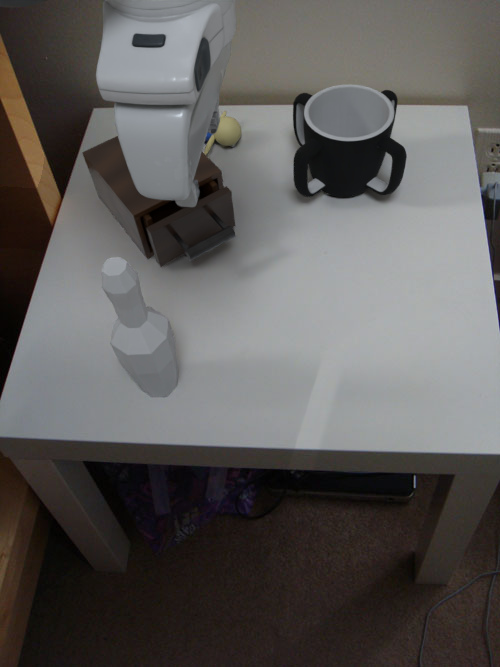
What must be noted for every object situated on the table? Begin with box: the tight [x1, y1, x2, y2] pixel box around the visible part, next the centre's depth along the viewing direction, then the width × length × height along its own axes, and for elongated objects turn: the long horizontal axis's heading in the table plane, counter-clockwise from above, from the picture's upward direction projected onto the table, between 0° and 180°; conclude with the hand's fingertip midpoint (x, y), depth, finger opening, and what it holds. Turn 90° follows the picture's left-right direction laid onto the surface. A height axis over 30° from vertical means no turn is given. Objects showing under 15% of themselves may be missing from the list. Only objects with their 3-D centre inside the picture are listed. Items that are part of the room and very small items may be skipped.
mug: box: [292, 83, 408, 198], centre depth 86 cm, size 16×16×12 cm
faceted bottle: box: [101, 256, 179, 398], centre depth 64 cm, size 6×6×22 cm
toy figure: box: [203, 110, 242, 156], centre depth 96 cm, size 11×9×5 cm
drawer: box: [140, 180, 237, 268], centre depth 83 cm, size 19×12×7 cm, turn 34°
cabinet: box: [81, 135, 225, 260], centre depth 86 cm, size 16×14×9 cm
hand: (199, 163), depth 53 cm, fingers open, 8 cm apart
